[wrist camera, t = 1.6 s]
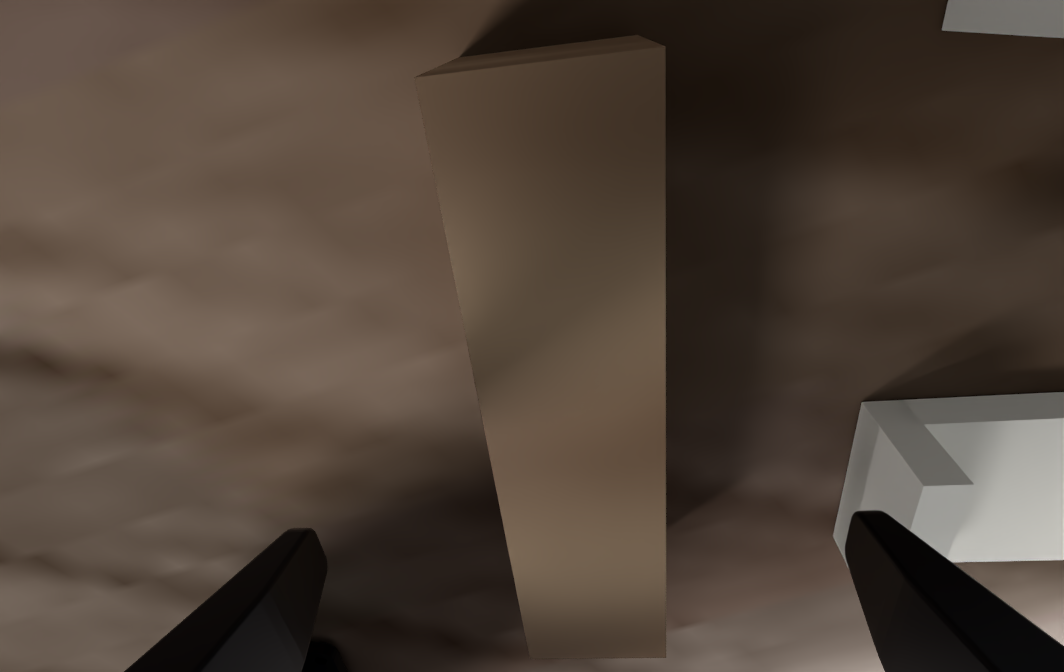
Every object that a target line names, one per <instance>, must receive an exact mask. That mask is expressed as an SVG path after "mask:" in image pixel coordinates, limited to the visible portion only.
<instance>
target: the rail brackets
mask: <svg viewBox="0 0 1064 672" xmlns="http://www.w3.org/2000/svg"><path fill="white" fill-rule="evenodd" d="M942 31H957V32H973V33H989V34H1005V35H1021V36H1037V37H1053V38H1064V0H948V3H947V8H946V12H945V17H944V22H943V26H942ZM867 510H880V511H883V512H885V513H887V514H888V515H890V516H891V517H892V518H894V519H895V520H896V521H898V522H899V523H900V524H902V525H903V526H904V527H906V528H907V529H908V530H910V531H911V532H912V533H914V534H915V535H916V536H918V537H919V538H920V539H922V540H923V541H924V542H926V543H927V544H928V545H930V546H931V547H932V548H934V549H935V550H936V551H938V552H939V553H940V554H942V555H943V556H944V557H946V558H947V559H948V560H950V561H951V562H989V561H1037V560H1064V392H1052V393H1032V394H1012V395H991V396H971V397H951V398H931V399H911V400H890V401H870V402H862V403H861V408H860V412H859V417H858V422H857V426H856V431H855V436H854V440H853V445H852V450H851V454H850V459H849V464H848V468H847V473H846V478H845V482H844V487H843V492H842V496H841V501H840V506H839V510H838V515H837V519H836V524H835V529H834V533H833V538H834V540H835V542H836V544H837V546H838V548H839V550H840V552H841V554H842V556H843V558H844V560H845V562H846V564H847V561H846V557H845V543H846V538H847V534H848V530H849V525H850V521H851V517H852V515H853V514H854V512H856V511H867ZM847 566H848V564H847ZM848 568H849V567H848Z"/></svg>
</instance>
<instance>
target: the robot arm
mask: <svg viewBox="0 0 1064 672" xmlns="http://www.w3.org/2000/svg"><path fill="white" fill-rule="evenodd" d="M845 557H846V561H847V564H848V567H849V570H850V573H851V576H852V579H853V582H854V585H855V588H856V591H857V594H858V597H859V600H860V603H861V606H862V609H863V612H864V615H865V618H866V621H867V624H868V627H869V630H870V633H871V636H872V639H873V642H874V645H875V648H876V650H877V653H878V656H879V658H880V661H881V663H882V666H883V668H884V670H885V672H1064V646H1063V645H1062V644H1060V643H1059V642H1058V641H1056V640H1055V639H1054V638H1052V637H1051V636H1050V635H1048V634H1047V633H1046V632H1044V631H1043V630H1042V629H1040V628H1039V627H1038V626H1036V625H1035V624H1034V623H1032V622H1031V621H1030V620H1028V619H1027V618H1026V617H1024V616H1023V615H1022V614H1020V613H1019V612H1018V611H1016V610H1015V609H1014V608H1012V607H1011V606H1010V605H1008V604H1007V603H1006V602H1004V601H1003V600H1002V599H1000V598H999V597H998V596H996V595H995V594H994V593H992V592H991V591H990V590H988V589H987V588H986V587H984V586H983V585H982V584H980V583H979V582H978V581H976V580H975V579H974V578H972V577H971V576H970V575H968V574H967V573H966V572H964V571H963V570H962V569H960V568H959V567H958V566H956V565H955V564H954V563H952V562H951V561H950V560H948V559H947V558H946V557H944V556H943V555H942V554H940V553H939V552H938V551H936V550H935V549H934V548H932V547H931V546H930V545H928V544H927V543H926V542H924V541H923V540H922V539H920V538H919V537H918V536H916V535H915V534H914V533H912V532H911V531H910V530H908V529H907V528H906V527H904V526H903V525H902V524H900V523H899V522H898V521H896V520H895V519H894V518H892V517H891V516H890V515H888V514H887V513H885V512H883V511H880V510H867V511H856V512H854V514H853V515H852V517H851V521H850V525H849V530H848V534H847V538H846V543H845ZM326 574H327V559H326V556H325V554H324V551H323V549H322V546H321V544H320V542H319V539H318V537H317V534H316V532H315V531H314V530H313V529H312V528H293V529H289V530H287V531H286V532H284V533H283V534H282V535H281V536H280V537H279V538H277V539H276V540H275V541H274V542H273V543H272V544H270V545H269V546H268V547H267V548H266V549H265V550H264V551H262V552H261V553H260V554H259V555H258V556H257V557H256V558H254V559H253V560H252V561H251V562H250V563H249V564H247V565H246V566H245V567H244V568H243V569H242V570H241V571H239V572H238V573H237V574H236V575H235V576H234V577H232V578H231V579H230V580H229V581H228V582H227V583H226V584H224V585H223V586H222V587H221V588H220V589H219V590H218V591H216V592H215V593H214V594H213V595H212V596H211V597H209V598H208V599H207V600H206V601H205V602H204V603H203V604H201V605H200V606H199V607H198V608H197V609H196V610H195V611H193V612H192V613H191V614H190V615H189V616H188V617H186V618H185V619H184V620H183V621H182V622H181V623H180V624H178V625H177V626H176V627H175V628H174V629H173V630H171V631H170V632H169V633H168V634H167V635H166V636H165V637H163V638H162V639H161V640H160V641H159V642H158V643H157V644H155V645H154V646H153V647H152V648H151V649H150V650H148V651H147V652H146V653H145V654H144V655H143V656H142V657H140V658H139V659H138V660H137V661H136V662H135V663H133V664H132V665H131V666H130V667H129V668H128V669H127V670H125V671H124V672H347V670H346V667H345V665H344V663H343V661H342V659H341V657H340V654H339V652H338V650H337V649H336V648H335V647H334V646H332V645H330V644H328V643H321V642H319V643H310V640H311V636H312V631H313V627H314V623H315V619H316V615H317V611H318V607H319V603H320V599H321V595H322V590H323V586H324V582H325V578H326Z"/></svg>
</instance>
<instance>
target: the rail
mask: <svg viewBox="0 0 1064 672" xmlns="http://www.w3.org/2000/svg"><path fill="white" fill-rule="evenodd" d="M414 79H415V84H416V89H417V94H418V99H419V104H420V109H421V114H422V119H423V124H424V129H425V134H426V139H427V144H428V149H429V154H430V159H431V164H432V169H433V174H434V179H435V184H436V189H437V194H438V199H439V204H440V209H441V215H442V220H443V225H444V230H445V235H446V240H447V245H448V250H449V255H450V260H451V265H452V270H453V275H454V280H455V285H456V290H457V295H458V300H459V305H460V310H461V315H462V320H463V325H464V330H465V335H466V340H467V345H468V350H469V355H470V360H471V365H472V370H473V375H474V380H475V385H476V390H477V396H478V401H479V406H480V411H481V416H482V421H483V426H484V431H485V436H486V441H487V446H488V451H489V456H490V461H491V466H492V471H493V476H494V481H495V486H496V491H497V496H498V501H499V506H500V511H501V516H502V521H503V526H504V531H505V536H506V541H507V546H508V551H509V556H510V561H511V566H512V571H513V577H514V582H515V587H516V592H517V597H518V602H519V607H520V612H521V617H522V622H523V627H524V632H525V637H526V642H527V647H528V652H529V657H530V659H586V658H666V46H663V45H661V44H658V43H656V42H654V41H651V40H649V39H646V38H644V37H641V36H639V35H632V36H624V37H616V38H609V39H601V40H593V41H585V42H577V43H569V44H561V45H553V46H545V47H537V48H529V49H521V50H514V51H506V52H498V53H490V54H482V55H474V56H466V57H459V58H457V59H454V60H452V61H450V62H448V63H445V64H443V65H441V66H439V67H437V68H434V69H432V70H430V71H428V72H425V73H423V74H421V75H419V76H417V77H414Z"/></svg>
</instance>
